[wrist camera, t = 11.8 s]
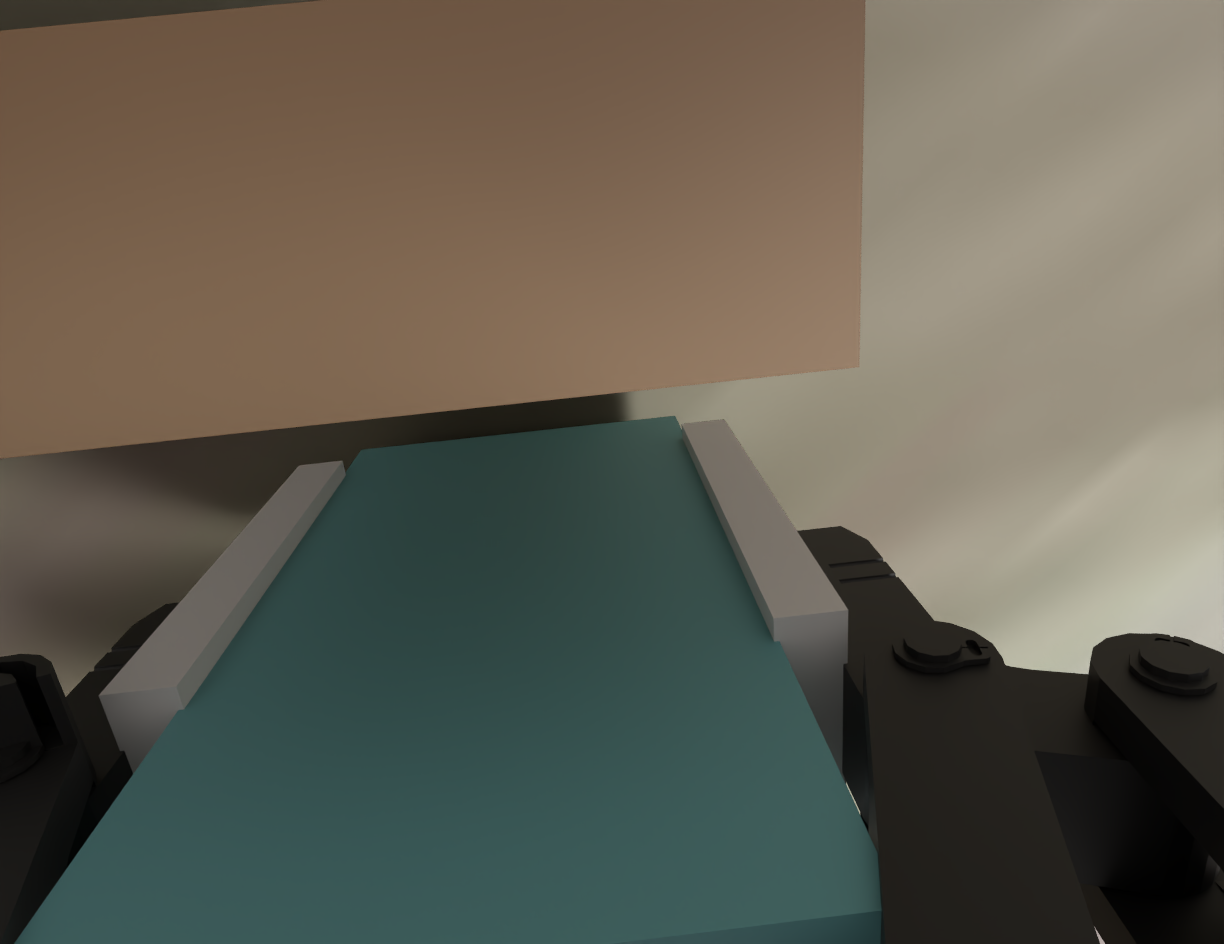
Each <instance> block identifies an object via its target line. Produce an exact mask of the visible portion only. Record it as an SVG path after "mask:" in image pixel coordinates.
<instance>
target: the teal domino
mask: <svg viewBox="0 0 1224 944" xmlns="http://www.w3.org/2000/svg"><path fill="white" fill-rule="evenodd" d="M345 473H346V476H345V477H344V479H343V480H342V482H341V483H340V485H339V486H338V487H337V489H336V490H335V492H334V493H333V495H332V496H331V498H330V499H329V500H328V502H327V503H326V505H325V506H324V508H323V509H322V511H321V512H320V513H319V515H318V516H317V518H316V519H315V521H314V522H313V524H312V525H311V527H310V528H309V529H308V531H307V532H306V534H305V535H304V537H303V538H302V540H301V541H300V542H299V544H298V545H297V547H296V548H295V550H294V551H293V553H292V554H291V555H290V557H289V558H288V560H287V561H286V563H285V564H284V566H283V567H282V568H281V570H280V571H279V573H278V574H277V576H276V577H275V579H274V580H273V581H272V583H271V584H270V586H269V587H268V589H267V590H266V592H265V593H264V594H263V596H262V597H261V599H260V600H259V602H258V603H257V605H256V606H255V607H254V609H253V610H252V612H251V613H250V615H249V616H248V618H247V619H246V620H245V622H244V623H243V625H242V626H241V628H240V629H239V631H238V632H237V633H236V635H235V636H234V638H233V639H232V641H231V642H230V644H229V645H228V647H227V648H226V649H225V651H224V652H223V654H222V655H221V657H220V658H219V660H218V661H217V662H216V664H215V665H214V667H213V668H212V670H211V671H210V673H209V674H208V675H207V677H206V678H205V680H204V681H203V683H202V684H201V686H200V687H199V688H198V690H197V691H196V693H195V694H194V696H193V697H192V699H191V700H190V701H189V703H188V704H187V706H186V707H185V709H183V710H178V711H177V713H176V714H175V716H174V717H173V718H172V720H171V721H170V723H169V724H168V725H167V727H166V728H165V730H164V731H163V733H162V734H161V735H160V737H159V738H158V740H157V741H156V743H155V744H154V745H153V747H152V748H151V750H150V751H149V752H148V754H147V755H146V757H145V758H144V760H143V761H142V762H141V764H140V765H139V767H138V768H137V770H136V771H135V772H134V774H133V775H132V777H131V778H130V779H129V781H128V782H127V784H126V785H125V787H124V788H123V789H122V791H121V792H120V794H119V795H118V797H117V798H116V799H115V801H114V802H113V804H112V805H111V807H110V808H109V809H108V811H107V812H106V814H105V815H104V816H103V818H102V819H101V821H100V822H99V824H98V825H97V826H96V828H95V829H94V831H93V832H92V834H91V835H90V836H89V838H88V839H87V841H86V842H85V843H84V845H83V846H82V848H81V849H80V851H79V852H78V853H77V855H76V856H75V858H74V859H73V861H72V862H71V863H70V865H69V866H68V868H67V869H66V870H65V872H64V873H63V875H62V876H61V878H60V879H59V880H58V882H57V883H56V885H55V886H54V888H53V889H52V890H51V892H50V893H49V895H48V896H47V897H46V899H45V900H44V902H43V903H42V905H41V906H40V907H39V909H38V910H37V912H36V913H35V915H34V916H33V917H32V919H31V920H30V922H29V923H28V925H27V926H26V927H25V929H24V930H23V932H22V933H21V934H20V936H19V937H18V939H17V940H16V942H15V943H14V944H880V940H881V912H882V910H881V896H880V882H879V868H878V854H877V851H876V848H875V846H874V844H873V842H872V840H871V838H870V836H869V833H868V831H867V829H866V827H865V825H864V823H863V820H862V818H861V816H860V814H859V812H858V810H857V807H856V805H855V803H854V801H853V799H852V797H851V795H850V792H849V790H848V788H847V786H846V784H845V782H844V779H843V777H842V775H841V773H840V771H839V769H838V766H837V764H836V762H835V760H834V758H833V756H832V753H831V751H830V749H829V747H828V745H827V743H826V741H825V738H824V736H823V734H822V732H821V730H820V728H819V725H818V723H817V721H816V719H815V717H814V715H813V712H812V710H811V708H810V706H809V704H808V702H807V700H806V697H805V695H804V693H803V691H802V689H801V687H800V684H799V682H798V680H797V678H796V676H795V674H794V671H793V669H792V667H791V665H790V663H789V661H788V659H787V656H786V654H785V652H784V650H783V648H782V646H781V643H780V641H775V642H774V640H773V638H772V636H771V633H770V631H769V629H768V627H767V625H766V622H765V620H764V618H763V616H762V613H761V611H760V609H759V607H758V605H757V602H756V600H755V598H754V596H753V594H752V591H751V589H750V587H749V585H748V582H747V580H746V578H745V576H744V574H743V571H742V569H741V567H740V565H739V562H738V560H737V558H736V556H735V554H734V551H733V549H732V547H731V545H730V543H729V540H728V538H727V536H726V534H725V531H724V529H723V527H722V525H721V523H720V520H719V518H718V516H717V514H716V511H715V509H714V507H713V505H712V503H711V500H710V498H709V496H708V494H707V492H706V489H705V487H704V485H703V483H702V480H701V478H700V476H699V474H698V472H697V469H696V467H695V465H694V463H693V460H692V458H691V456H690V454H689V452H688V449H687V447H686V445H685V443H684V441H683V437H682V430H681V428H680V425H679V423H678V421H677V419H676V417H675V416H669V417H660V418H651V419H641V420H632V421H623V422H614V423H604V424H595V425H586V426H576V427H567V428H558V429H549V430H539V431H530V432H521V433H512V434H502V435H493V436H484V437H475V438H465V439H456V440H447V441H438V442H428V443H419V444H410V445H400V446H391V447H382V448H373V449H363V450H361V451H360V452H359V454H358V455H357V457H356V458H355V460H354V461H353V462H352V464H351V465H350V467H349V468H348V470H347V471H346V472H345Z"/></svg>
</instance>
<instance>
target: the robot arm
mask: <svg viewBox="0 0 1224 944" xmlns="http://www.w3.org/2000/svg"><path fill="white" fill-rule="evenodd" d="M682 437H683V441H684V443H685V445H686V447H687V449H688V452H689V454H690V456H691V458H692V460H693V463H694V465H695V467H696V469H697V472H698V474H699V476H700V478H701V480H702V483H703V485H704V487H705V489H706V492H707V494H708V496H709V498H710V500H711V503H712V505H713V507H714V509H715V511H716V514H717V516H718V518H719V520H720V523H721V525H722V527H723V529H724V531H725V534H726V536H727V538H728V540H729V543H730V545H731V547H732V549H733V551H734V554H735V556H736V558H737V560H738V562H739V565H740V567H741V569H742V571H743V574H744V576H745V578H746V580H747V582H748V585H749V587H750V589H751V591H752V594H753V596H754V598H755V600H756V602H757V605H758V607H759V609H760V611H761V613H762V616H763V618H764V620H765V622H766V625H767V627H768V629H769V631H770V633H771V636H772V638H773V640H774V642H775V641H780V643H781V646H782V648H783V650H784V652H785V654H786V656H787V659H788V661H789V663H790V665H791V667H792V669H793V671H794V674H795V676H796V678H797V680H798V682H799V684H800V687H801V689H802V691H803V693H804V695H805V697H806V700H807V702H808V704H809V706H810V708H811V710H812V712H813V715H814V717H815V719H816V721H817V723H818V725H819V728H820V730H821V732H822V734H823V736H824V738H825V741H826V743H827V745H828V747H829V749H830V751H831V753H832V756H833V758H834V760H835V762H836V764H837V766H838V769H839V771H840V773H841V775H842V777H843V779H844V782H845V784H846V782H847V784H848V786H849V789H850V791H851V793H852V795H853V797H854V799H855V801H856V804H857V806H858V808H859V810H860V816H861V818H862V820H863V823H864V825H865V827H866V829H867V831H868V833H869V836H870V838H871V840H872V842H873V844H874V846H875V848H876V851H877V854H878V868H879V882H880V896H881V910H882V912H881V940H880V944H1100V943H1099V939H1098V937H1097V934H1096V931H1095V928H1096V930H1097V931H1098V933H1099V934H1100V936H1101V938H1102V939H1103V941H1104V942H1105V944H1224V654H1222V653H1221V652H1219V651H1216V650H1214V649H1211V648H1208V647H1206V646H1203V645H1200V644H1198V643H1195V642H1193V641H1191V640H1188V639H1185V638H1180V637H1176V636H1174V637H1170V635H1164V634H1156V633H1155V634H1134V633H1129V634H1124V635H1119V636H1114V637H1110V638H1106V639H1105V640H1103V641H1102V642H1101V643H1099V644H1098V645H1096V646H1095V647H1093V651H1092V656H1091V661H1090V668H1089V675H1088V674H1076V673H1064V672H1052V671H1040V670H1030V669H1023V668H1016V667H1010V666H1006V665H1005V664H1004V661H1003V658H1002V656H1001V655H1000V654H999V652H998V651H997V649H996V648H995V647H994V645H993V644H992V643H991V642H989V641H988V640H986V639H985V638H983V637H982V636H980V635H979V634H977V633H976V632H974V631H971V630H968V629H966V628H963V627H960V626H957V625H954V624H951V623H946V622H939V621H934V620H933V619H932V617H931V616H930V615H929V614H928V612H927V611H926V610H925V609H924V608H923V606H922V605H921V604H920V603H919V602H918V600H917V599H916V598H915V597H914V595H913V594H912V593H911V592H910V591H909V589H908V588H907V587H906V586H905V585H904V583H903V582H902V581H901V580H900V579H899V577H896V576H895V572H894V571H893V570H892V569H891V568H890V566H889V565H888V564H887V563H886V562H883V558H882V557H881V555H880V554H879V553H878V552H877V551H876V549H875V548H874V547H873V546H872V545H871V543H870V542H869V541H868V540H867V539H865V538H863V537H861V536H859V535H857V534H855V533H853V532H851V531H849V530H847V529H845V528H843V527H841V526H838V527H829V528H820V529H811V530H802V531H797V530H796V529H795V527H794V526H793V524H792V523H791V521H790V520H789V518H788V517H787V515H786V513H785V512H784V510H783V509H782V507H781V506H780V504H779V503H778V501H777V500H776V498H775V497H774V495H773V493H772V492H771V490H770V489H769V487H768V486H767V484H766V483H765V481H764V480H763V478H762V477H761V475H760V473H759V472H758V470H757V469H756V467H755V466H754V464H753V463H752V461H751V460H750V458H749V457H748V455H747V453H746V452H745V450H744V449H743V447H742V446H741V444H740V443H739V441H738V440H737V438H736V437H735V435H734V433H733V432H732V430H731V429H730V427H729V426H728V424H727V423H726V421H725V420H724V419H722V420H713V421H704V422H695V423H685V424H682ZM345 476H346V473H345V469H344V464H343V461H334V462H325V463H316V464H307V465H299V466H298V467H297V468H296V469H295V471H294V472H293V473H292V474H291V475H290V476H289V478H288V479H287V480H286V481H285V482H284V483H283V484H282V486H281V487H280V488H279V489H278V490H277V491H276V492H275V494H274V495H273V496H272V497H271V498H270V499H269V500H268V502H267V503H266V504H265V505H264V506H263V507H262V509H261V510H260V511H259V512H258V513H257V514H256V515H255V517H254V518H253V519H252V520H251V521H250V522H249V523H248V525H247V526H246V527H245V528H244V529H243V530H242V531H241V533H240V534H239V535H238V536H237V537H236V538H235V540H234V541H233V542H232V543H231V544H230V545H229V546H228V548H227V549H226V550H225V551H224V552H223V553H222V554H221V556H220V557H219V558H218V559H217V560H216V561H215V562H214V564H213V565H212V566H211V567H210V568H209V569H208V571H207V572H206V573H205V574H204V575H203V576H202V577H201V579H200V580H199V581H198V582H197V583H196V584H195V585H194V587H193V588H192V589H191V590H190V591H189V592H188V593H187V595H186V596H185V597H184V598H183V599H182V600H181V602H180V603H173V604H165V605H164V606H162V607H161V608H159V609H158V610H156V611H154V612H153V613H151V614H150V615H148V616H147V617H145V618H144V619H142V620H140V621H139V622H137V623H136V624H134V625H133V626H132V627H131V628H130V629H129V630H128V631H127V632H126V633H125V634H124V635H123V636H122V637H121V639H120V640H119V641H118V642H117V643H116V644H115V645H114V646H113V647H112V652H109V653H107V654H106V655H105V656H104V657H103V658H102V659H101V660H100V661H99V662H98V663H97V664H96V665H95V667H94V671H93V672H89V673H88V674H87V675H86V676H85V677H84V678H83V679H82V681H81V682H80V683H79V684H78V685H77V686H76V687H75V688H74V689H73V690H72V691H71V692H70V693H69V694H68V696H67V697H65V695H64V692H63V690H62V687H61V685H60V682H59V680H58V677H57V675H56V672H55V670H54V667H53V665H52V663H51V661H49V660H48V659H46V658H44V657H43V656H41V655H31V654H17V655H11V656H4V657H0V944H14V943H15V942H16V940H17V939H18V937H19V936H20V934H21V933H22V932H23V930H24V929H25V927H26V926H27V925H28V923H29V922H30V920H31V919H32V917H33V916H34V915H35V913H36V912H37V910H38V909H39V907H40V906H41V905H42V903H43V902H44V900H45V899H46V897H47V896H48V895H49V893H50V892H51V890H52V889H53V888H54V886H55V885H56V883H57V882H58V880H59V879H60V878H61V876H62V875H63V873H64V872H65V870H66V869H67V868H68V866H69V865H70V863H71V862H72V861H73V859H74V858H75V856H76V855H77V853H78V852H79V851H80V849H81V848H82V846H83V845H84V843H85V842H86V841H87V839H88V838H89V836H90V835H91V834H92V832H93V831H94V829H95V828H96V826H97V825H98V824H99V822H100V821H101V819H102V818H103V816H104V815H105V814H106V812H107V811H108V809H109V808H110V807H111V805H112V804H113V802H114V801H115V799H116V798H117V797H118V795H119V794H120V792H121V791H122V789H123V788H124V787H125V785H126V784H127V782H128V781H129V779H130V778H131V777H132V775H133V774H134V772H135V771H136V770H137V768H138V767H139V765H140V764H141V762H142V761H143V760H144V758H145V757H146V755H147V754H148V752H149V751H150V750H151V748H152V747H153V745H154V744H155V743H156V741H157V740H158V738H159V737H160V735H161V734H162V733H163V731H164V730H165V728H166V727H167V725H168V724H169V723H170V721H171V720H172V718H173V717H174V716H175V714H176V713H177V711H178V710H183V709H185V707H186V706H187V704H188V703H189V701H190V700H191V699H192V697H193V696H194V694H195V693H196V691H197V690H198V688H199V687H200V686H201V684H202V683H203V681H204V680H205V678H206V677H207V675H208V674H209V673H210V671H211V670H212V668H213V667H214V665H215V664H216V662H217V661H218V660H219V658H220V657H221V655H222V654H223V652H224V651H225V649H226V648H227V647H228V645H229V644H230V642H231V641H232V639H233V638H234V636H235V635H236V633H237V632H238V631H239V629H240V628H241V626H242V625H243V623H244V622H245V620H246V619H247V618H248V616H249V615H250V613H251V612H252V610H253V609H254V607H255V606H256V605H257V603H258V602H259V600H260V599H261V597H262V596H263V594H264V593H265V592H266V590H267V589H268V587H269V586H270V584H271V583H272V581H273V580H274V579H275V577H276V576H277V574H278V573H279V571H280V570H281V568H282V567H283V566H284V564H285V563H286V561H287V560H288V558H289V557H290V555H291V554H292V553H293V551H294V550H295V548H296V547H297V545H298V544H299V542H300V541H301V540H302V538H303V537H304V535H305V534H306V532H307V531H308V529H309V528H310V527H311V525H312V524H313V522H314V521H315V519H316V518H317V516H318V515H319V513H320V512H321V511H322V509H323V508H324V506H325V505H326V503H327V502H328V500H329V499H330V498H331V496H332V495H333V493H334V492H335V490H336V489H337V487H338V486H339V485H340V483H341V482H342V480H343V479H344V477H345ZM1094 926H1095V928H1094Z"/></svg>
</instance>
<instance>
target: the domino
mask: <svg viewBox="0 0 1224 944" xmlns="http://www.w3.org/2000/svg"><path fill="white" fill-rule="evenodd" d="M864 51H865V0H319V1H308V2H298V3H287V4H277V5H266V6H256V7H245V8H234V9H224V10H213V11H203V12H192V13H182V14H171V15H161V16H150V17H140V18H129V19H119V20H108V21H97V22H87V23H76V24H66V25H55V26H45V27H34V28H24V29H13V30H3V31H0V459H2V458H11V457H20V456H30V455H39V454H48V453H58V452H67V451H77V450H86V449H95V448H105V447H114V446H123V445H133V444H142V443H152V442H161V441H170V440H180V439H189V438H198V437H208V436H217V435H227V434H236V433H245V432H255V431H264V430H273V429H283V428H292V427H302V426H311V425H320V424H330V423H339V422H348V421H358V420H367V419H377V418H386V417H395V416H405V415H414V414H423V413H433V412H442V411H451V410H461V409H470V408H480V407H489V406H498V405H508V404H517V403H527V402H536V401H545V400H555V399H564V398H573V397H583V396H592V395H601V394H611V393H620V392H630V391H639V390H648V389H658V388H667V387H676V386H686V385H695V384H705V383H714V382H723V381H733V380H742V379H751V378H761V377H770V376H780V375H789V374H798V373H808V372H817V371H826V370H836V369H845V368H855V367H859V351H860V291H861V231H862V171H863V111H864Z"/></svg>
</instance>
